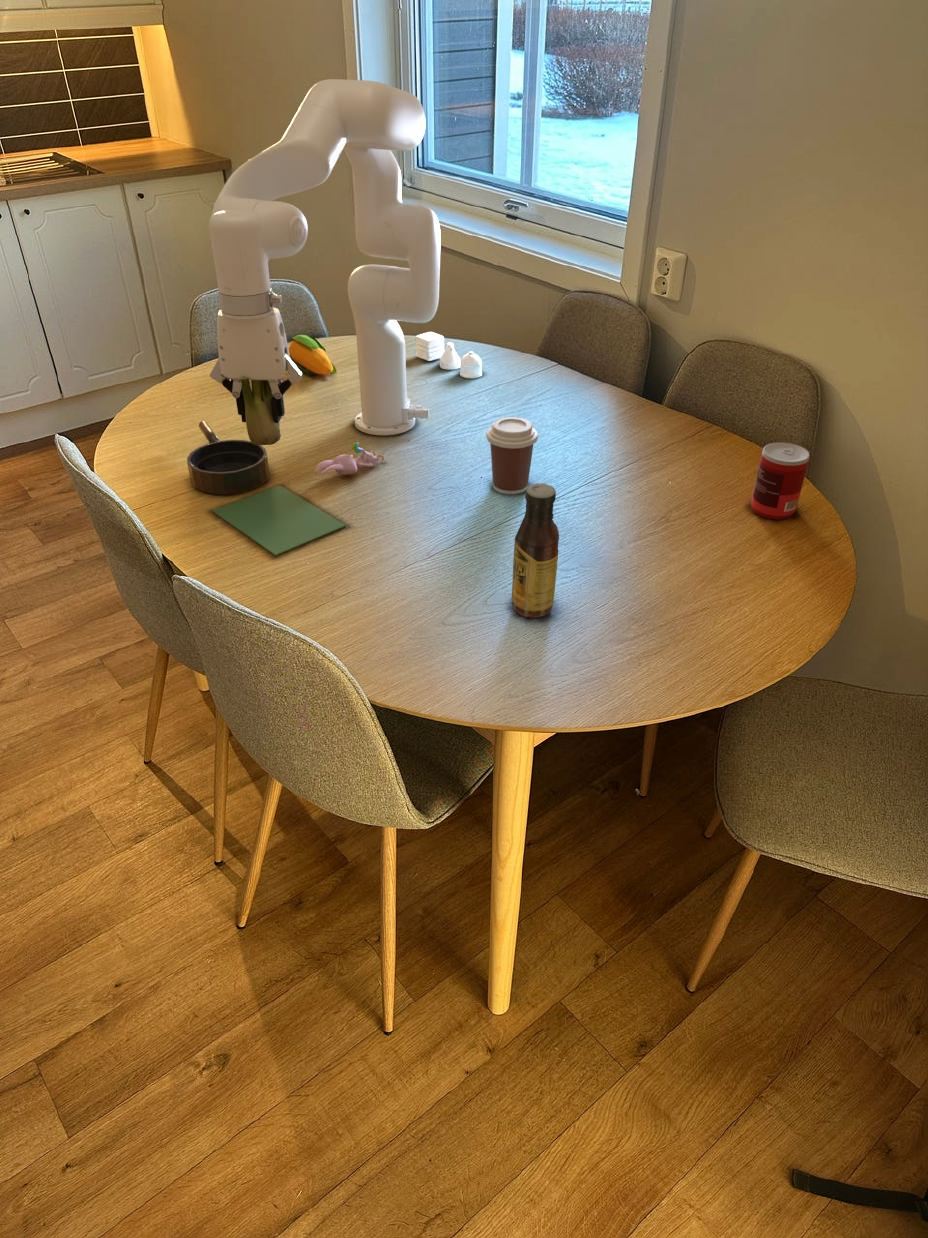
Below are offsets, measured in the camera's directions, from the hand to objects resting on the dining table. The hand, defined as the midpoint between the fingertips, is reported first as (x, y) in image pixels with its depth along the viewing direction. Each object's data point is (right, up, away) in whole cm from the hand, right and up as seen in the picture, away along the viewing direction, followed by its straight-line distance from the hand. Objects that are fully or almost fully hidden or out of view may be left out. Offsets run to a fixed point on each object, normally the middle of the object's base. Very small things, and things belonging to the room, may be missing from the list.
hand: (262, 418), depth 140 cm
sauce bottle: (+42, -31, -11) cm, 53 cm away
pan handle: (-17, +3, +30) cm, 35 cm away
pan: (-11, -6, +23) cm, 26 cm away
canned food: (+87, -13, +14) cm, 89 cm away
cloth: (0, -15, +11) cm, 18 cm away
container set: (+29, +29, +71) cm, 82 cm away
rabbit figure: (+11, -5, +25) cm, 28 cm away
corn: (-3, +27, +68) cm, 73 cm away
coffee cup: (+41, -8, +21) cm, 46 cm away
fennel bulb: (0, -4, +2) cm, 4 cm away
